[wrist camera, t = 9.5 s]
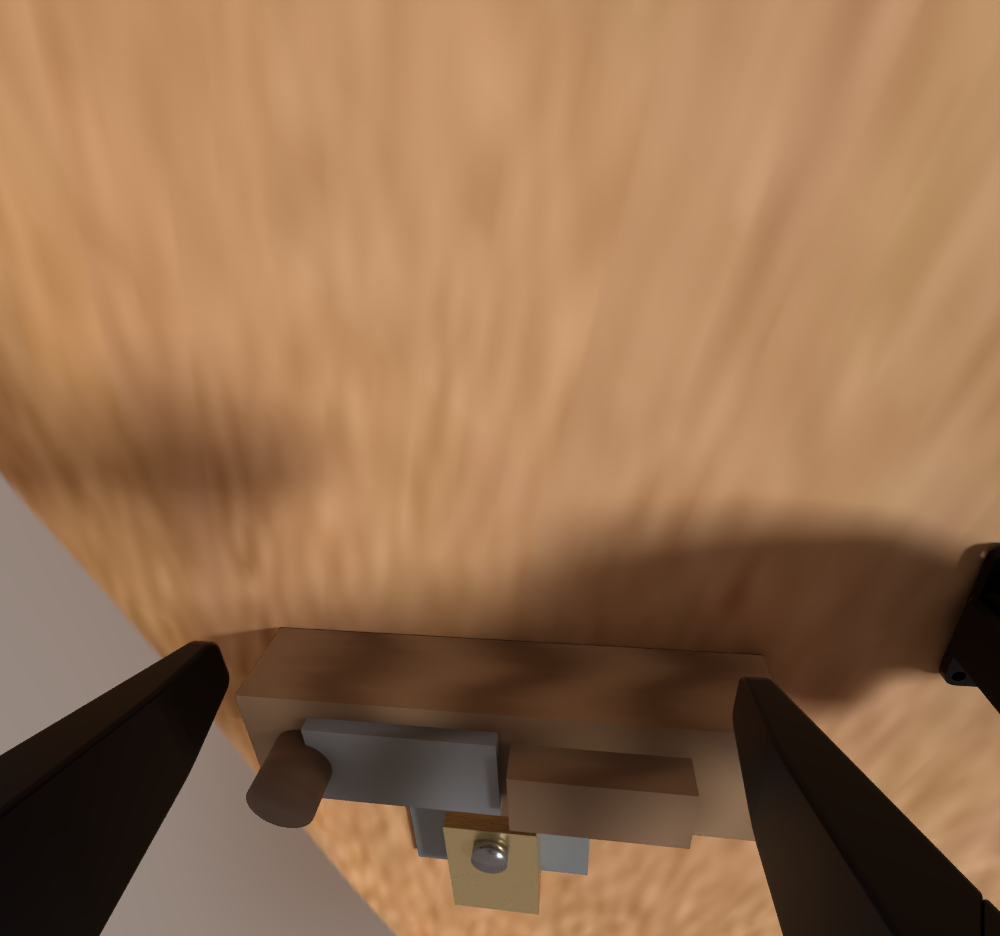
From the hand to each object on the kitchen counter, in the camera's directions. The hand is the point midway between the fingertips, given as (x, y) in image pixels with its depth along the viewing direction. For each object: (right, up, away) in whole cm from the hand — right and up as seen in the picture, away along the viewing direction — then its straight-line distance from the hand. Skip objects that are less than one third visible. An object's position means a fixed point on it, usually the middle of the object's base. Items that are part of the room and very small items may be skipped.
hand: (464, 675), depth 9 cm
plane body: (+1, -7, +17) cm, 18 cm away
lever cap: (+1, -16, +21) cm, 27 cm away
